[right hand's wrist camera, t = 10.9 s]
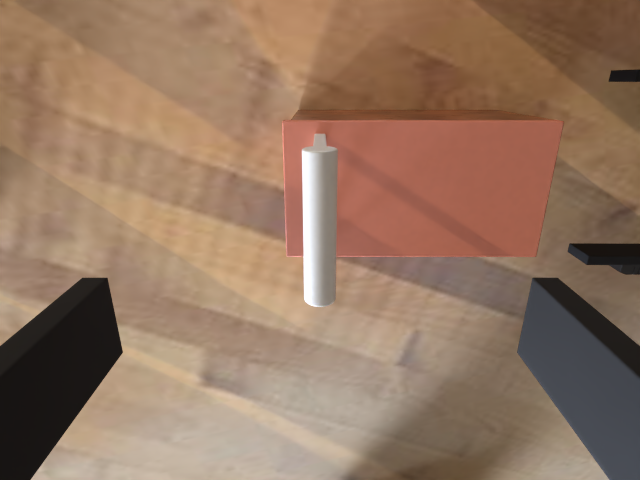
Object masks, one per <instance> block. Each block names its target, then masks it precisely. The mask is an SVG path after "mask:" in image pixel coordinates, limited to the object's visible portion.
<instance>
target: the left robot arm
mask: <svg viewBox="0 0 640 480" xmlns="http://www.w3.org/2000/svg"><path fill="white" fill-rule="evenodd" d="M609 82H640V70H614V71H611V74H610V78H609ZM568 252H569V253H570V254H572V255H573V256H575V257H576V258H578V259H579V260H581V261H582V262H583V263H585V264H586V265H610V266H611V267H613V268H614V269H616V270H617V271H619V272H621V273H623V274H640V244H569V248H568Z"/></svg>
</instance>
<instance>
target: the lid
mask: <svg viewBox="0 0 640 480" xmlns="http://www.w3.org/2000/svg"><path fill="white" fill-rule="evenodd" d="M563 124H564V122H563V121H559V120H284V121H283V122H282V130H283V161H284V192H285V224H286V255H287V257H304V299H305V301H306V302H307V303H308V304H310V305H312V306H319V307H321V306H328V305H330V304H332V303H333V302H334V301H335V299H336V257H536V255H537V250H538V245H539V240H540V235H541V231H542V226H543V221H544V216H545V211H546V206H547V201H548V197H549V192H550V187H551V182H552V177H553V172H554V168H555V163H556V158H557V153H558V148H559V143H560V138H561V134H562V129H563Z"/></svg>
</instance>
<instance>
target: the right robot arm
mask: <svg viewBox="0 0 640 480" xmlns="http://www.w3.org/2000/svg"><path fill="white" fill-rule="evenodd" d="M122 353H123V351H122V346H121V341H120V337H119V332H118V327H117V322H116V317H115V312H114V308H113V303H112V298H111V293H110V288H109V284H108V279H107V278H82V279H81V280H79V281H78V282H77V283H76V284H75V285H73V286H72V287H71V288H70V289H69V290H67V291H66V292H65V293H64V294H62V295H61V296H60V297H59V298H58V299H56V300H55V301H54V302H53V303H52V304H50V305H49V306H48V307H47V308H46V309H44V310H43V311H42V312H41V313H40V314H38V315H37V316H36V317H35V318H34V319H32V320H31V321H30V322H29V323H28V324H26V325H25V326H24V327H23V328H22V329H20V330H19V331H18V332H17V333H16V334H14V335H13V336H12V337H11V338H10V339H8V340H7V341H6V342H5V343H4V344H2V345H1V346H0V480H31V478H32V477H33V475H34V474H35V473H36V471H37V470H38V469H39V467H40V466H41V464H42V463H43V462H44V460H45V459H46V458H47V456H48V455H49V453H50V452H51V451H52V449H53V448H54V446H55V445H56V444H57V442H58V441H59V440H60V438H61V437H62V435H63V434H64V433H65V431H66V430H67V429H68V427H69V426H70V424H71V423H72V422H73V420H74V419H75V418H76V416H77V415H78V413H79V412H80V411H81V409H82V408H83V407H84V405H85V404H86V402H87V401H88V400H89V398H90V397H91V395H92V394H93V393H94V391H95V390H96V389H97V387H98V386H99V384H100V383H101V382H102V380H103V379H104V378H105V376H106V375H107V373H108V372H109V371H110V369H111V368H112V367H113V365H114V364H115V362H116V361H117V360H118V358H119V357H120V356H121V354H122ZM517 353H518V354H519V356H520V357H521V358H522V360H523V361H524V362H525V364H526V365H527V367H528V368H529V369H530V371H531V372H532V373H533V375H534V376H535V378H536V379H537V380H538V382H539V383H540V384H541V386H542V387H543V389H544V390H545V391H546V393H547V394H548V395H549V397H550V398H551V400H552V401H553V402H554V404H555V405H556V407H557V408H558V409H559V411H560V412H561V413H562V415H563V416H564V418H565V419H566V420H567V422H568V423H569V424H570V426H571V427H572V429H573V430H574V431H575V433H576V434H577V435H578V437H579V438H580V440H581V441H582V442H583V444H584V445H585V446H586V448H587V449H588V451H589V452H590V453H591V455H592V456H593V458H594V459H595V460H596V462H597V463H598V464H599V466H600V467H601V469H602V470H603V471H604V473H605V474H606V475H607V477H608V478H609V480H640V346H639V345H638V344H636V343H635V342H634V341H633V340H632V339H630V338H629V337H628V336H627V335H626V334H624V333H623V332H622V331H621V330H620V329H618V328H617V327H616V326H615V325H614V324H612V323H611V322H610V321H609V320H608V319H606V318H605V317H604V316H603V315H602V314H600V313H599V312H598V311H597V310H596V309H594V308H593V307H592V306H591V305H590V304H588V303H587V302H586V301H585V300H584V299H582V298H581V297H580V296H579V295H578V294H576V293H575V292H574V291H573V290H571V289H570V288H569V287H568V286H567V285H565V284H564V283H563V282H562V281H561V280H559V279H558V278H533V279H532V284H531V288H530V293H529V298H528V303H527V308H526V312H525V317H524V322H523V327H522V332H521V337H520V341H519V346H518V351H517Z"/></svg>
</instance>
